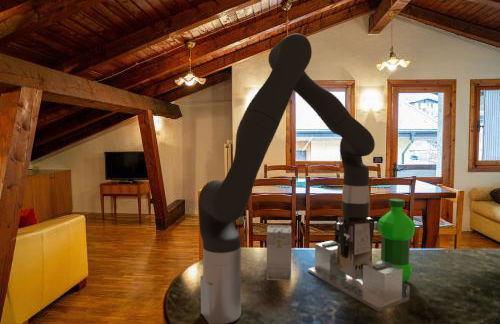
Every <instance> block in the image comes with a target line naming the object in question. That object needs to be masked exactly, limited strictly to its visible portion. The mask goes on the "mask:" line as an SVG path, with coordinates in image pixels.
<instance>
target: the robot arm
mask: <svg viewBox="0 0 500 324" xmlns="http://www.w3.org/2000/svg"><path fill="white" fill-rule="evenodd" d="M312 52H313V51H312V45H311V42H310V40H309V39H308V38H307V37H306V36H305V35H303V34H301V33H292V34H290V35H287V36H285V37H284V38H282V39H281V40H280V41H278V43H276V45H274V46H273V47H272V49H271V50H270V52H269V54H268V58H267V59H268V64H269V67H270V69H271V71H270V74H269V75H268V77H267V79H266V80H265V82H264V83H263V85H262V86H261V87H260V88H259V89H258V91H257V93H255V95H254V96H253V98H252V100H250V102H249V104H248V105H247V107H246V109H245V111H244V113H243V115H242V117H241V119H240V122H239V124H238V127H237V129H236V135H235V148H234V157H233V160H232V164H231V166H230V167H229V169H228V171H227V173H226V176H225V177H224V179H223V180H218V179H217V180H214V179H213V180H211V181H208V182H207V183H206V184H204V186H203V187H202V188H201V190H200V192H199V197H198V222H199V226H198V227H199V234H200V237H201V239H202V240H201V241H202V255H203V256H202V266H203V267H202V268H203V271H202V272H203V274H202V275H201V276H200V313H201V315H202V316H203V317H204V319H205V320H206V321H207V323H208V324H229V323H233V322H235V321H237V320H239V318H240V317H241V314H242V298H241V297H242V281H241V280H242V264H241V263H242V254H241V253H242V243H241V242H242V239H241V234H240V233H239V231H238V230H237V228H236V227H235V224H234V222H236V221H237V220H238V219H240V218H241V216H242V215H243V214H244V212H245V211H246V208H247V206H248V203H249V200H250V197H251V194H252V191H253V187H254V185H255V182H256V179H257V177H258V173H259V171H260V168H261V167H262V164H263V162H264V159H265V156H266V155H267V152H268V150H269V147H270V145H271V143H272V142H273V139H274V137H275V135H276V133H277V131H278V128H279V126H280V123H281V121H282V118H283V116H284V114H285V111H286V109H287V106H288V105H289V102H290V99H291V97H292V95H293V92H295V93H296V95H298V96H299V97H300V98H301V99H303V101H304V102H305V103H307V104H308V106H310V108H311V109H312V110H313V111H314V112H315V113H316V114H317V116H318V117H319V118H320V119H321V121H322V122H323V123H324V125H325V126H326V127H327V128H328V129H329V130H330V132H331V133H332V134H334V135H338V136H339V137H341V139H340V142H339V144H340V145H339V153H340V158H341V164H342V167H343V184H342V185H343V187H342V192H341V193H342V194H341V196H342V197H341V198H342V199H341V202H342V203H341V205H342V206H341V214H342V217H343V216H344V220H343V222H342V223H338V221H337V222H335V223H334V242H336V243H339V244H340V245H341V256H342V257H344V258H348V257H349V246H348V244H349V238H350V235H348V234H345V233H344V230H345V229H346V227H347V229H349V222H351V221H356V220H363V219H365V220H368V221H370V222H373V234H372V239H374V233H375V231H374V229H375V219H374V218H373V217H372V218H371V217H369V216H370V187H369V184H370V183H369V181H370V169H369V167H368V166H367V165H366V164H364V161H363V157H367V156H370V155H371V154H372V153H373V152H374V150H375V148H376V147H375V146H376V143H375V139H374V136H373V135H372V133H371V132H370V131H369V130H368V129H367V128H366V127H365V126H364V125H363V124H362V123H360V122H359V121H358V120H357V119H356V118H354V117H353V116H352V115H351V114H350V111H348V109H347V108H346V107H345V105H344V104H343V103H342V102H341V100H340V99H339V98H338V96H335V94H333V93H332V92H330V91H329V90H328V89H325V88H324V87H323V86H322V85H319V84H318V83H317V82H316V81H315V80H314V79H312V78H311V77H310V76H309V75H308V74H307V72H306V69H307V67H308V65H310V61H311V59H312V54H313V53H312ZM339 237H340V239H339ZM345 237H347V238H346V240H345ZM344 240H345V241H344Z"/></svg>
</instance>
